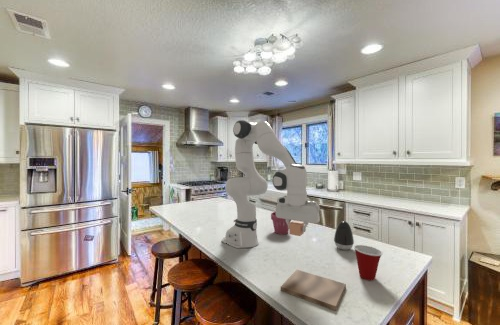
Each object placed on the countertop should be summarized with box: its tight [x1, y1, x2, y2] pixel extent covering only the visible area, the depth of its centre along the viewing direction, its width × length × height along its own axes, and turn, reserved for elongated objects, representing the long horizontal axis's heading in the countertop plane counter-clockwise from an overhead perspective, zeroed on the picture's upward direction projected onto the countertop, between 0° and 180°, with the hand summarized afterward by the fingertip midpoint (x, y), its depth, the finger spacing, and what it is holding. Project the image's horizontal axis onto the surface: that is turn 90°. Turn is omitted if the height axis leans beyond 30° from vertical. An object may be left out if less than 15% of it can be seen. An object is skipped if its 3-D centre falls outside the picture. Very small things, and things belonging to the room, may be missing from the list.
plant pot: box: [270, 211, 292, 235], centre depth 153 cm, size 14×14×13 cm
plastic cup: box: [353, 244, 383, 281], centre depth 95 cm, size 11×11×12 cm
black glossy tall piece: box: [333, 220, 355, 251], centre depth 126 cm, size 10×10×15 cm
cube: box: [288, 220, 305, 237], centre depth 103 cm, size 5×5×5 cm
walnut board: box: [280, 269, 347, 312], centre depth 86 cm, size 20×16×2 cm
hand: (296, 230), depth 103 cm, fingers closed on cube, 5 cm apart
